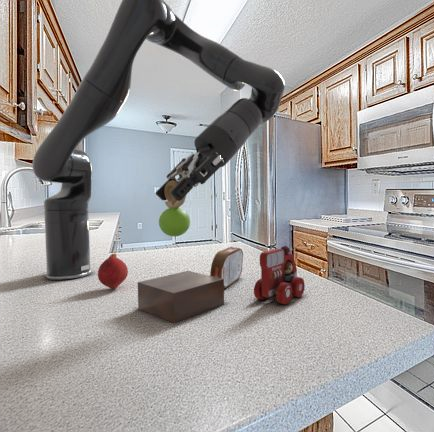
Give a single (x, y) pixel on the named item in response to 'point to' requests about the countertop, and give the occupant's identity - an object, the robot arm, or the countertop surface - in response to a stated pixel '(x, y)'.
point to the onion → (112, 272)
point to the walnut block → (180, 295)
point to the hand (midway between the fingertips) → (166, 197)
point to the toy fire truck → (278, 276)
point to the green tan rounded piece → (174, 213)
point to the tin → (227, 265)
